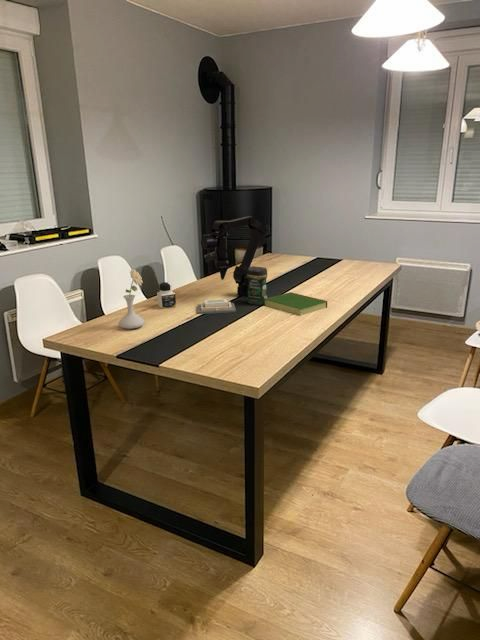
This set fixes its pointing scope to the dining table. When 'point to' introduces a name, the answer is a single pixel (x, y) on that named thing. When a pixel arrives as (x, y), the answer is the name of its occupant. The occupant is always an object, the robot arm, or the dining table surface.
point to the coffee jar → (257, 285)
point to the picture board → (215, 309)
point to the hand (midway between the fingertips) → (222, 277)
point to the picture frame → (216, 303)
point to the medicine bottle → (166, 296)
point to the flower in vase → (131, 318)
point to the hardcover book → (295, 303)
